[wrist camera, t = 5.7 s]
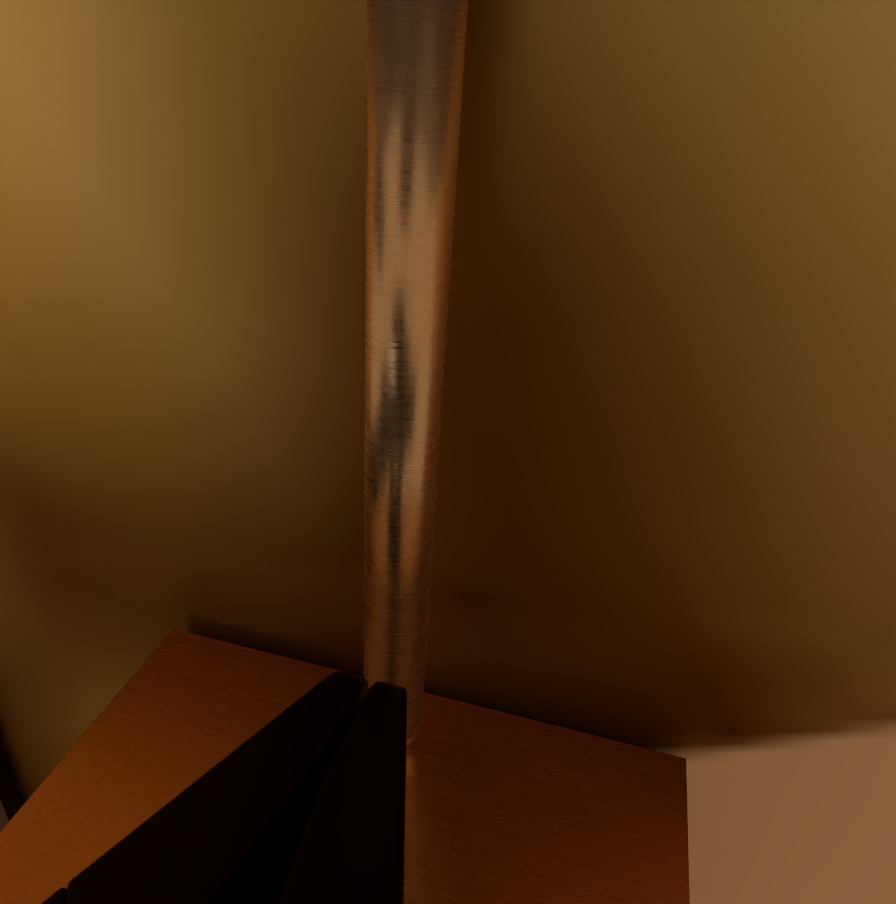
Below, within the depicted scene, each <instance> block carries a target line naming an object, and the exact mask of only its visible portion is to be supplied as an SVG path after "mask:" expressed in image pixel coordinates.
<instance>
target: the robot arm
mask: <svg viewBox="0 0 896 904" xmlns="http://www.w3.org/2000/svg"><path fill="white" fill-rule="evenodd" d="M407 695H408V694H407V690H406V688H405V687H403V686H399V685H395V684H391V683H387V682H383V681H377V682H375V683H374V684H373V685H372V686H371V687H370V689H369V685H368V681H367V679H366V678H364V677H363V676H359V675H355V674H351V673H347V672H343V671H335V672H333V673H331V674H329V675H328V676H327V677H325V678H324V679H323V680H322V681H320V682H319V683H318V684H317V685H315V686H314V687H313V688H312V689H310V690H309V691H308V692H307V693H305V694H304V695H303V696H302V697H300V698H299V699H298V700H296V701H295V702H294V703H293V704H291V705H290V706H289V707H288V708H286V709H285V710H284V711H283V712H281V713H280V714H279V715H278V716H276V717H275V718H274V719H273V720H271V721H270V722H269V723H268V724H266V725H265V726H264V727H263V728H261V729H260V730H259V731H258V732H256V733H255V734H254V735H253V736H251V737H250V738H249V739H248V740H246V741H245V742H244V743H242V744H241V745H240V746H239V747H237V748H236V749H235V750H234V751H232V752H231V753H230V754H229V755H227V756H226V757H225V758H224V759H222V760H221V761H220V762H219V763H217V764H216V765H215V766H214V767H212V768H211V769H210V770H209V771H207V772H206V773H205V774H204V775H202V776H201V777H200V778H199V779H197V780H196V781H195V782H193V783H192V784H191V785H190V786H188V787H187V788H186V789H185V790H183V791H182V792H181V793H180V794H178V795H177V796H176V797H175V798H173V799H172V800H171V801H170V802H168V803H167V804H166V805H165V806H163V807H162V808H161V809H160V810H158V811H157V812H156V813H155V814H153V815H152V816H151V817H150V818H148V819H147V820H146V821H144V822H143V823H142V824H141V825H139V826H138V827H137V828H136V829H134V830H133V831H132V832H131V833H129V834H128V835H127V836H126V837H124V838H123V839H122V840H121V841H119V842H118V843H117V844H116V845H114V846H113V847H112V848H111V849H109V850H108V851H107V852H106V853H104V854H103V855H102V856H101V857H99V858H98V859H97V860H95V861H94V862H93V863H92V864H90V865H89V866H88V867H87V868H85V869H84V870H83V871H82V872H80V873H79V874H78V875H77V876H75V877H74V878H73V879H72V880H70V881H69V883H68V886H67V889H66V888H60V889H58V890H57V891H56V892H55V893H54V894H52V895H51V896H50V897H49V898H47V899H46V900H45V901H44V902H42V903H41V904H404V852H405V800H406V748H407ZM22 806H23V804H22V802H21V799H20V796H19V793H18V791H17V788H16V785H15V783H14V780H13V777H12V775H11V772H10V769H9V767H8V764H7V761H6V759H5V756H4V753H3V751H2V748H1V745H0V832H1V831H2V830H3V828H4V827H5V826H6V825H7V824H8V823H9V821H10V820H11V819H12V818H13V817H14V815H15V814H16V813H17V812H18V811H19V810H20V808H21V807H22Z"/></svg>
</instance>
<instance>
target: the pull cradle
mask: <svg viewBox="0 0 896 904" xmlns="http://www.w3.org/2000/svg"><path fill="white" fill-rule="evenodd" d="M467 14H468V0H367V66H366V279H365V491H364V678H366V679H367V681H368V685H369V689H370V687H371V686H372V685H373V684H374V683H375V682H377V681H383V682H387V683H391V684H395V685H399V686H403V687H405V688H406V690H407V694H408V695H407V748H406V800H405V852H404V904H690V903H689V862H688V823H687V784H686V783H687V782H686V759H685V758H681V757H678V756H674V755H670V754H666V753H662V752H658V751H654V750H650V749H646V748H642V747H638V746H634V745H630V744H626V743H622V742H618V741H614V740H610V739H607V738H603V737H599V736H595V735H591V734H587V733H583V732H579V731H575V730H571V729H567V728H563V727H559V726H555V725H551V724H547V723H543V722H539V721H536V720H532V719H528V718H524V717H520V716H516V715H512V714H508V713H504V712H500V711H496V710H492V709H488V708H484V707H480V706H476V705H472V704H468V703H465V702H461V701H457V700H453V699H449V698H445V697H441V696H437V695H433V694H429V693H425V692H424V683H425V667H426V652H427V636H428V621H429V605H430V590H431V574H432V559H433V543H434V527H435V512H436V496H437V481H438V465H439V450H440V434H441V419H442V403H443V387H444V372H445V356H446V341H447V325H448V310H449V294H450V279H451V263H452V248H453V232H454V216H455V201H456V185H457V170H458V154H459V139H460V123H461V108H462V92H463V76H464V61H465V45H466V30H467ZM335 671H338V670H334V669H330V668H327V667H323V666H319V665H315V664H311V663H307V662H303V661H299V660H295V659H291V658H287V657H283V656H279V655H275V654H271V653H267V652H263V651H259V650H256V649H252V648H248V647H244V646H240V645H236V644H232V643H228V642H224V641H220V640H216V639H212V638H208V637H204V636H200V635H196V634H192V633H188V632H185V631H181V630H177V629H172V630H171V631H170V633H169V634H168V635H167V636H166V637H165V639H164V640H163V641H162V642H161V643H160V644H159V646H158V647H157V648H156V649H155V650H154V652H153V653H152V654H151V655H150V656H149V657H148V659H147V660H146V661H145V662H144V663H143V664H142V666H141V667H140V668H139V669H138V670H137V672H136V673H135V674H134V675H133V676H132V677H131V679H130V680H129V681H128V682H127V683H126V685H125V686H124V687H123V688H122V689H121V690H120V692H119V693H118V694H117V695H116V696H115V698H114V699H113V700H112V701H111V702H110V703H109V705H108V706H107V707H106V708H105V709H104V710H103V712H102V713H101V714H100V715H99V716H98V718H97V719H96V720H95V721H94V722H93V723H92V725H91V726H90V727H89V728H88V729H87V731H86V732H85V733H84V734H83V735H82V736H81V738H80V739H79V740H78V741H77V742H76V744H75V745H74V746H73V747H72V748H71V749H70V751H69V752H68V753H67V754H66V755H65V756H64V758H63V759H62V760H61V761H60V762H59V764H58V765H57V766H56V767H55V768H54V769H53V771H52V772H51V773H50V774H49V775H48V777H47V778H46V779H45V780H44V781H43V782H42V784H41V785H40V786H39V787H38V788H37V790H36V791H35V792H34V793H33V794H32V795H31V797H30V798H29V799H28V800H27V801H26V802H25V804H24V805H23V806H22V807H21V808H20V810H19V811H18V812H17V813H16V814H15V815H14V817H13V818H12V819H11V820H10V821H9V823H8V824H7V825H6V826H5V827H4V828H3V830H2V831H1V832H0V904H41V903H42V902H44V901H45V900H46V899H47V898H49V897H50V896H51V895H52V894H54V893H55V892H56V891H57V890H58V889H60V888H66V889H67V886H68V883H69V881H70V880H72V879H73V878H74V877H75V876H77V875H78V874H79V873H80V872H82V871H83V870H84V869H85V868H87V867H88V866H89V865H90V864H92V863H93V862H94V861H95V860H97V859H98V858H99V857H101V856H102V855H103V854H104V853H106V852H107V851H108V850H109V849H111V848H112V847H113V846H114V845H116V844H117V843H118V842H119V841H121V840H122V839H123V838H124V837H126V836H127V835H128V834H129V833H131V832H132V831H133V830H134V829H136V828H137V827H138V826H139V825H141V824H142V823H143V822H144V821H146V820H147V819H148V818H150V817H151V816H152V815H153V814H155V813H156V812H157V811H158V810H160V809H161V808H162V807H163V806H165V805H166V804H167V803H168V802H170V801H171V800H172V799H173V798H175V797H176V796H177V795H178V794H180V793H181V792H182V791H183V790H185V789H186V788H187V787H188V786H190V785H191V784H192V783H193V782H195V781H196V780H197V779H199V778H200V777H201V776H202V775H204V774H205V773H206V772H207V771H209V770H210V769H211V768H212V767H214V766H215V765H216V764H217V763H219V762H220V761H221V760H222V759H224V758H225V757H226V756H227V755H229V754H230V753H231V752H232V751H234V750H235V749H236V748H237V747H239V746H240V745H241V744H242V743H244V742H245V741H246V740H248V739H249V738H250V737H251V736H253V735H254V734H255V733H256V732H258V731H259V730H260V729H261V728H263V727H264V726H265V725H266V724H268V723H269V722H270V721H271V720H273V719H274V718H275V717H276V716H278V715H279V714H280V713H281V712H283V711H284V710H285V709H286V708H288V707H289V706H290V705H291V704H293V703H294V702H295V701H296V700H298V699H299V698H300V697H302V696H303V695H304V694H305V693H307V692H308V691H309V690H310V689H312V688H313V687H314V686H315V685H317V684H318V683H319V682H320V681H322V680H323V679H324V678H325V677H327V676H328V675H329V674H331V673H333V672H335Z"/></svg>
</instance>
